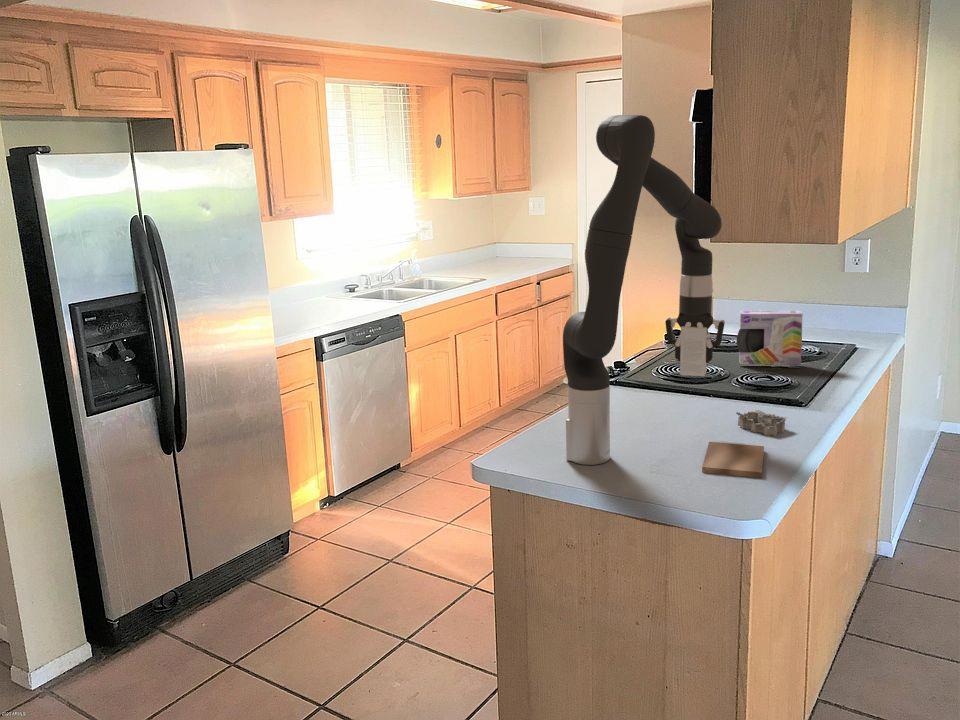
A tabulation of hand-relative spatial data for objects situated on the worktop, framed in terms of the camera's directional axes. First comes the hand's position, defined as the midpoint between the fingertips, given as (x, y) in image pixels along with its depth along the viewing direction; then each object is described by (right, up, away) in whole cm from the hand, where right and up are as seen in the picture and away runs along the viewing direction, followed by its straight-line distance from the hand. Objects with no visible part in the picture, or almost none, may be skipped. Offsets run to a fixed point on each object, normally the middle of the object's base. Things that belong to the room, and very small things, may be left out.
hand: (693, 361), depth 193 cm
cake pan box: (+39, -2, +57) cm, 69 cm away
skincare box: (0, -3, +1) cm, 3 cm away
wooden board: (+4, -22, -18) cm, 29 cm away
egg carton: (+17, -17, +2) cm, 24 cm away
